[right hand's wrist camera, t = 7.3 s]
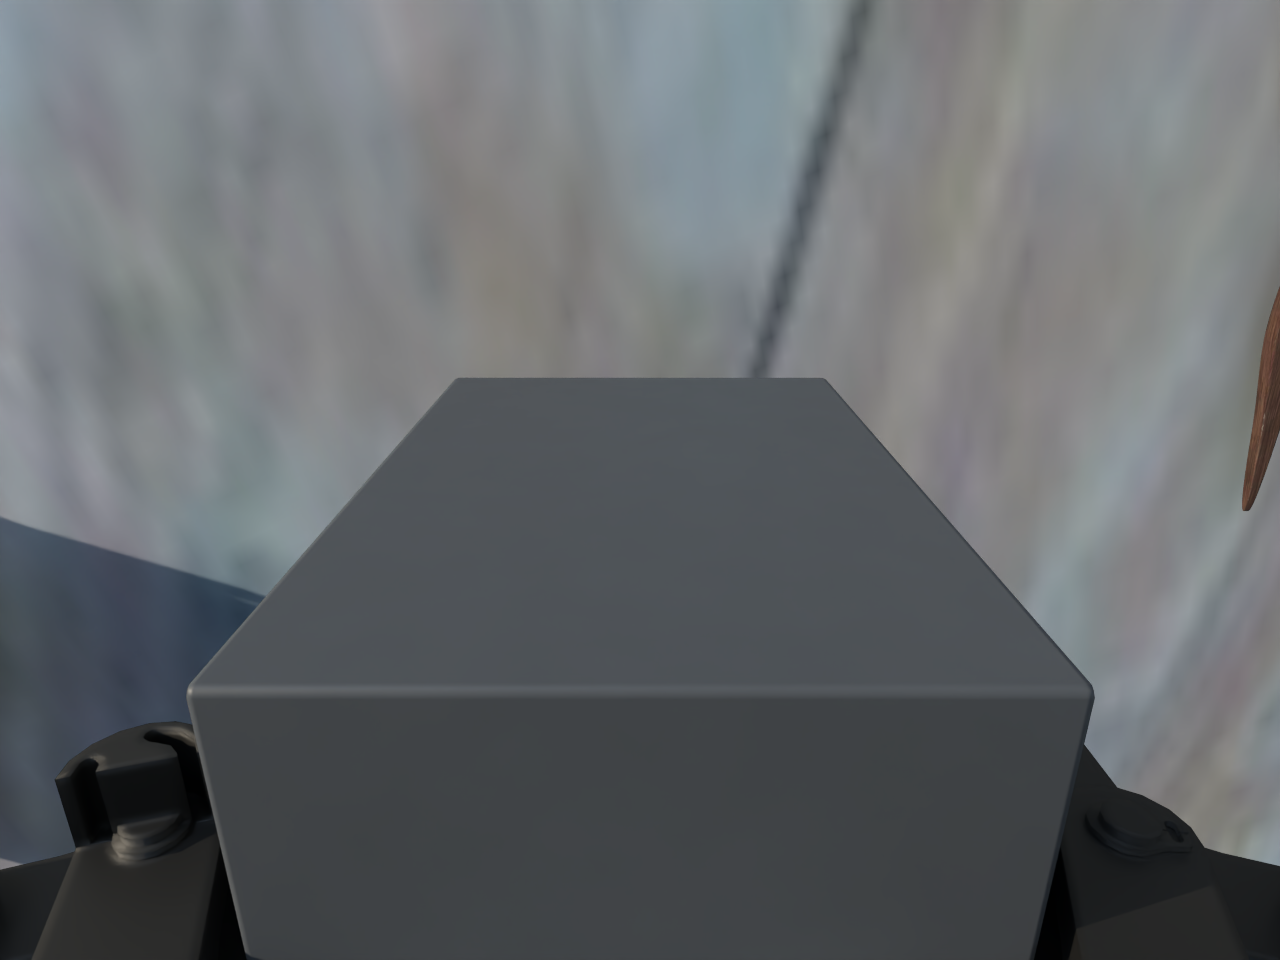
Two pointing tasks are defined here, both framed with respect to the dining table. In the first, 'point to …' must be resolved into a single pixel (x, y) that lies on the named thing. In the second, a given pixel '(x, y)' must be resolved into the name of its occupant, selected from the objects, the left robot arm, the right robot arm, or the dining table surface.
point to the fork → (1264, 410)
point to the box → (640, 698)
